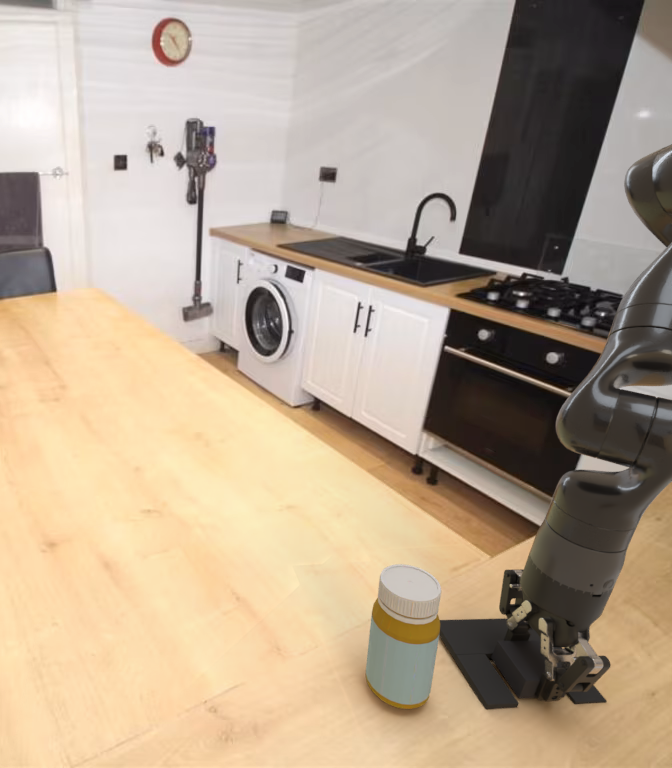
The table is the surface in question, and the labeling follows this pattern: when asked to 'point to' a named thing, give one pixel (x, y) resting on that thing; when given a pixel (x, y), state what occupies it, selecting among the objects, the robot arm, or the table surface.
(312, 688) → the table surface
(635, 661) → the table surface
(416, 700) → the bottle
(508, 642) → the dark rectangular block
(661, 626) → the table surface
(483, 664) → the u-shaped plate
